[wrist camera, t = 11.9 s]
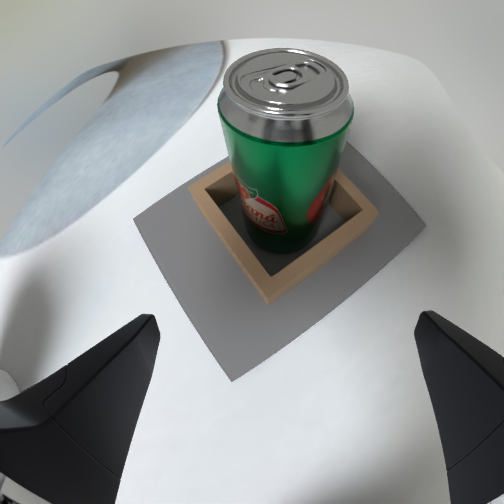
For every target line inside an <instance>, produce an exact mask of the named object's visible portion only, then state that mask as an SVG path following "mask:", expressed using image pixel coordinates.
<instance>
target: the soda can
mask: <svg viewBox="0 0 504 504" xmlns="http://www.w3.org/2000/svg"><path fill="white" fill-rule="evenodd" d="M223 85H224V87H223V89H222V90H221V92H220V95H219V97H218V103H217V106H218V113H219V117H220V121H221V125H222V129H223V134H224V138H225V142H226V146H227V151H228V155H229V159H230V163H231V168H232V172H233V176H234V180H235V185H236V189H237V193H238V197H239V201H240V206H241V210H242V214H243V218H244V223H245V227H246V230H247V233H248V234H249V236H250V238H251V239H252V240H253V241H254V242H255V243H256V244H257V245H258V246H259V247H261V248H263V249H264V250H267V251H269V252H273V253H278V254H288V253H293V252H296V251H299V250H301V249H303V248H304V247H306V246H307V245H308V244H309V243H310V242H311V241H312V240H313V239H314V237H315V236H316V234H317V231H318V229H319V226H320V223H321V220H322V217H323V214H324V211H325V208H326V205H327V202H328V199H329V196H330V193H331V190H332V187H333V183H334V180H335V177H336V174H337V171H338V167H339V164H340V161H341V158H342V154H343V151H344V147H345V144H346V141H347V137H348V134H349V130H350V126H351V123H352V119H353V115H354V105H353V101H352V98H351V96H350V94H349V92H348V91H349V85H348V80H347V77H346V75H345V74H344V72H343V71H342V70H341V69H340V68H339V67H338V66H337V65H336V64H335V63H333V62H332V61H330V60H328V59H327V58H325V57H323V56H320V55H318V54H315V53H312V52H309V51H304V50H299V49H291V48H274V49H266V50H260V51H257V52H253V53H250V54H248V55H245V56H243V57H241V58H240V59H238V60H237V61H235V62H234V63H233V64H232V65H231V66H230V67H229V68H228V69H227V71H226V73H225V75H224V80H223Z"/></svg>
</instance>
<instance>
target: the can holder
mask: <svg viewBox="0 0 504 504" xmlns="http://www.w3.org/2000/svg"><path fill="white" fill-rule="evenodd" d="M133 220H134V222H135V224H136V226H137V228H138V230H139V232H140V234H141V236H142V238H143V240H144V241H145V243H146V245H147V247H148V249H149V251H150V253H151V255H152V256H153V258H154V260H155V262H156V264H157V265H158V267H159V269H160V271H161V272H162V274H163V276H164V278H165V279H166V281H167V283H168V285H169V286H170V288H171V290H172V291H173V293H174V295H175V297H176V298H177V300H178V302H179V303H180V305H181V306H182V308H183V310H184V311H185V313H186V315H187V316H188V318H189V319H190V321H191V323H192V324H193V326H194V327H195V329H196V330H197V332H198V333H199V335H200V337H201V338H202V340H203V341H204V343H205V344H206V346H207V347H208V349H209V350H210V352H211V353H212V355H213V356H214V358H215V359H216V360H217V362H218V363H219V365H220V366H221V368H222V369H223V371H224V372H225V373H226V375H227V376H228V378H229V379H230V380H231V382H233V381H234V380H236V379H237V378H239V377H240V376H242V375H244V374H245V373H247V372H248V371H250V370H251V369H253V368H254V367H256V366H257V365H259V364H260V363H262V362H263V361H265V360H266V359H267V358H269V357H270V356H272V355H273V354H275V353H276V352H278V351H279V350H280V349H282V348H283V347H285V346H286V345H287V344H289V343H290V342H291V341H293V340H294V339H296V338H297V337H298V336H300V335H301V334H302V333H304V332H305V331H306V330H308V329H309V328H310V327H312V326H313V325H314V324H316V323H317V322H318V321H319V320H321V319H322V318H323V317H325V316H326V315H327V314H328V313H330V312H331V311H332V310H333V309H335V308H336V307H337V306H338V305H340V304H341V303H342V302H343V301H345V300H346V299H347V298H348V297H349V296H351V295H352V294H353V293H354V292H355V291H357V290H358V289H359V288H360V287H361V286H362V285H364V284H365V283H366V282H367V281H368V280H369V279H370V278H372V277H373V276H374V275H375V274H376V273H377V272H378V271H380V270H381V269H382V268H383V267H384V266H385V265H386V264H387V263H388V262H389V261H391V260H392V259H393V258H394V257H395V256H396V255H397V254H398V253H399V252H400V251H401V250H402V249H403V248H404V247H406V246H407V245H408V244H409V243H410V242H411V241H412V240H413V239H414V238H415V237H416V236H417V235H418V234H419V233H420V232H421V231H422V230H423V229H424V228H425V227H426V224H425V223H424V222H423V221H422V220H421V218H420V217H419V216H418V215H417V214H416V212H415V211H414V210H413V209H412V208H411V207H410V205H409V204H408V203H407V202H406V201H405V200H404V199H403V197H402V196H401V195H400V194H399V193H398V192H397V191H396V190H395V189H394V188H393V187H392V185H391V184H390V183H389V182H388V181H387V180H386V179H385V178H384V177H383V176H382V175H381V174H380V173H379V172H378V171H377V170H376V169H375V168H374V167H373V166H372V165H371V164H370V163H369V162H368V161H367V160H366V159H365V158H364V157H363V156H362V155H361V154H360V153H359V152H358V151H357V150H355V149H354V148H353V147H352V146H351V145H350V144H349V143H348V142H347V141H346V144H345V147H344V151H343V154H342V158H341V161H340V164H339V167H338V171H337V174H336V177H335V180H334V183H333V187H332V190H331V193H330V196H329V199H328V202H327V205H326V208H325V211H324V214H323V217H322V220H321V223H320V226H319V229H318V231H317V234H316V236H315V237H314V239H313V240H312V241H311V242H310V243H309V244H308V245H307V246H306V247H304V248H303V249H301V250H299V251H296V252H293V253H288V254H278V253H273V252H269V251H267V250H264V249H263V248H261V247H259V246H258V245H257V244H256V243H255V242H254V241H253V240H252V239H251V238H250V236H249V234H248V233H247V230H246V227H245V223H244V218H243V214H242V210H241V206H240V201H239V197H238V193H237V189H236V185H235V180H234V176H233V172H232V168H231V163H230V159H229V156H228V157H226V158H225V159H223V160H221V161H220V162H218V163H216V164H215V165H213V166H211V167H210V168H208V169H207V170H205V171H203V172H202V173H200V174H198V175H197V176H195V177H194V178H192V179H191V180H189V181H187V182H186V183H184V184H183V185H181V186H180V187H178V188H177V189H175V190H174V191H172V192H171V193H169V194H168V195H166V196H165V197H163V198H162V199H160V200H159V201H157V202H156V203H155V204H153V205H152V206H150V207H149V208H147V209H146V210H145V211H143V212H142V213H140V214H139V215H138V216H136V217H135V218H134V219H133Z"/></svg>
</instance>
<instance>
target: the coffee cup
mask: <svg viewBox="0 0 504 504" xmlns="http://www.w3.org/2000/svg"><path fill="white" fill-rule="evenodd" d="M19 393H20V391H19V388H18V386H17V384H16V383H15V381H14V379H13V378H12V377H11V375H10V374H9V373H7V372H6V371H4V370H0V401H3V400H7V399H10V398H12V397H14V396H15V395H17V394H19Z"/></svg>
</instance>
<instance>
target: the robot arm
mask: <svg viewBox="0 0 504 504" xmlns="http://www.w3.org/2000/svg"><path fill="white" fill-rule="evenodd" d="M414 336H415V341H416V345H417V349H418V353H419V358H420V362H421V367H422V371H423V375H424V378H425V381H426V385H427V388H428V391H429V395H430V398H431V402H432V406H433V409H434V413H435V417H436V421H437V425H438V429H439V434H440V438H441V443H442V448H443V453H444V458H445V464H446V470H447V477H448V484H449V492H450V500H451V504H487V503H489V502H490V504H504V357H502V356H501V355H500V354H498V353H497V352H496V351H494V350H493V349H491V348H490V347H488V346H487V345H485V344H484V343H482V342H481V341H479V340H478V339H476V338H475V337H473V336H472V335H470V334H468V333H467V332H465V331H464V330H462V329H461V328H459V327H458V326H456V325H455V324H453V323H451V322H450V321H448V320H447V319H445V318H444V317H442V316H440V315H439V314H437V313H436V312H434V311H431V310H430V311H423V312H422V313H421V314H420V316H419V319H418V322H417V325H416V327H415V331H414ZM159 342H160V332H159V328H158V325H157V322H156V319H155V316H154V315H152V314H141V315H140V316H138V317H137V318H135V319H134V320H132V321H131V322H129V323H128V324H126V325H125V326H123V327H122V328H120V329H119V330H117V331H116V332H114V333H113V334H111V335H110V336H108V337H107V338H105V339H104V340H102V341H101V342H99V343H98V344H96V345H95V346H93V347H92V348H90V349H89V350H87V351H86V352H85V353H83V354H82V355H80V356H79V357H77V358H76V359H74V360H73V361H71V362H70V363H68V364H67V365H65V366H64V367H62V368H61V369H59V370H58V371H56V372H55V373H53V374H52V375H50V376H49V377H47V378H45V379H44V380H42V381H40V382H39V383H37V384H35V385H33V386H32V387H30V388H28V389H26V390H24V391H23V392H21V393H19V394H17V395H15V396H14V397H12V398H10V399H7V400H3V401H0V504H115V501H116V497H117V493H118V489H119V485H120V481H121V480H120V479H121V476H122V473H123V469H124V465H125V462H126V458H127V455H128V451H129V448H130V444H131V441H132V437H133V434H134V431H135V427H136V424H137V421H138V418H139V414H140V411H141V408H142V405H143V402H144V399H145V396H146V393H147V390H148V387H149V384H150V380H151V377H152V373H153V369H154V364H155V359H156V355H157V350H158V346H159Z"/></svg>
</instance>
